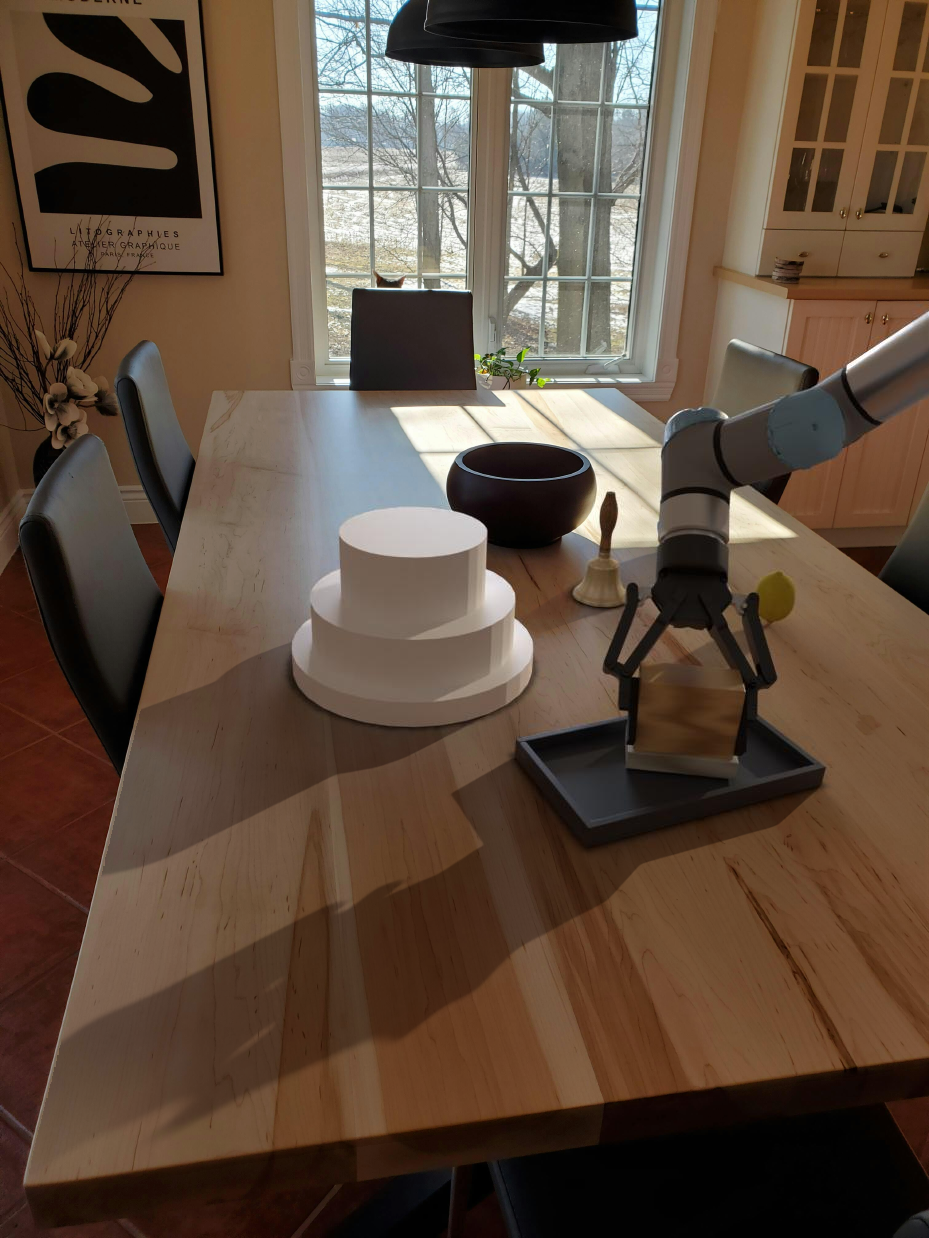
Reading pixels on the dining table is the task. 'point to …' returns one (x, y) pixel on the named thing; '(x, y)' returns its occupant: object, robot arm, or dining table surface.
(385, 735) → the dining table surface
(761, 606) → the lemon
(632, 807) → the tray
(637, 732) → the eraser
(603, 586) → the hand bell
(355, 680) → the cake
